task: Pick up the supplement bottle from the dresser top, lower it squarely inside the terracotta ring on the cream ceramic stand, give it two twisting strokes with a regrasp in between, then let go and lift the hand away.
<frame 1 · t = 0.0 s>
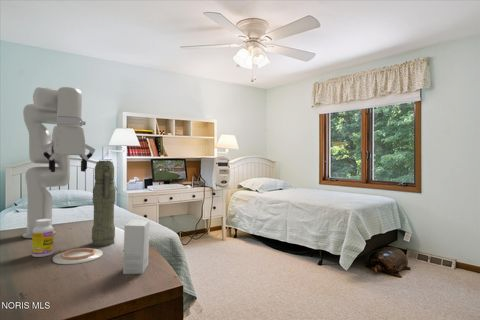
hand: (68, 171, 105), 31 cm above the dresser, tool pointing down, fingers open, 9 cm apart
thermos: (103, 243, 126), on the dresser
skincare box: (136, 270, 97), on the dresser
ring stand: (78, 256, 109), on the dresser
supplement bottle: (42, 255, 110), on the dresser
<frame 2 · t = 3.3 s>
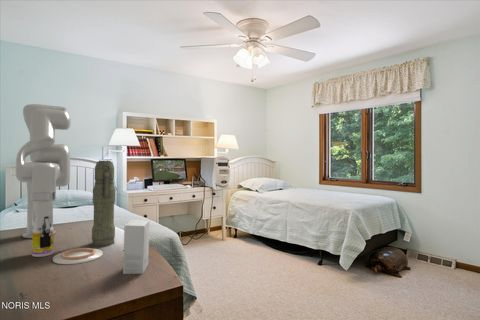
hand: (42, 244, 110), 4 cm above the dresser, tool pointing down, fingers closed on supplement bottle, 6 cm apart
supplement bottle: (42, 255, 110), on the dresser, touching gripper
everything else where it was.
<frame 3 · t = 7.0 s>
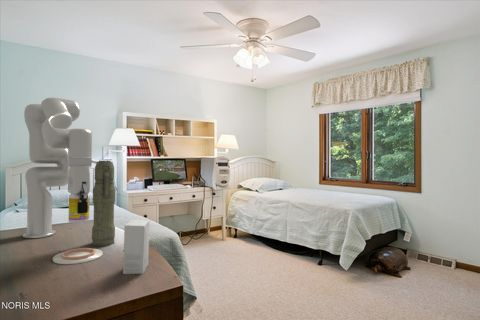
hand: (79, 211, 109), 17 cm above the dresser, tool pointing down, fingers closed on supplement bottle, 6 cm apart
supplement bottle: (78, 221, 109), point 13 cm above the dresser, touching gripper
everything else where it was.
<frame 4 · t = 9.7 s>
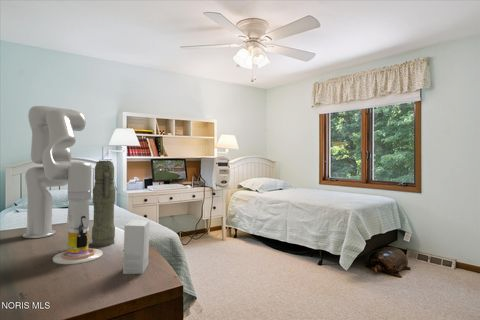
hand: (78, 244, 109), 4 cm above the dresser, tool pointing down, fingers closed on supplement bottle, 6 cm apart
supplement bottle: (78, 255, 109), resting on ring stand, touching gripper
everything else where it was.
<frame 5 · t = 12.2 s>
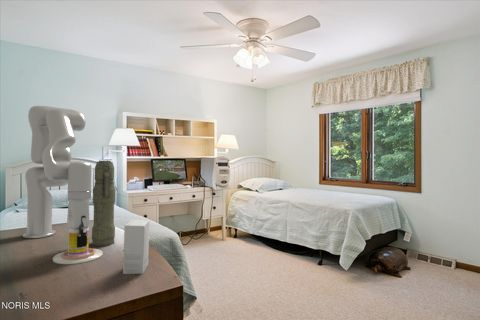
hand: (78, 244, 109), 5 cm above the dresser, tool pointing down, fingers closed on supplement bottle, 6 cm apart
supplement bottle: (78, 255, 109), resting on ring stand, touching gripper
everything else where it was.
when the fingers open (5 cm above the dresser, at t = 13.5 s): supplement bottle stays where it is, resting on ring stand.
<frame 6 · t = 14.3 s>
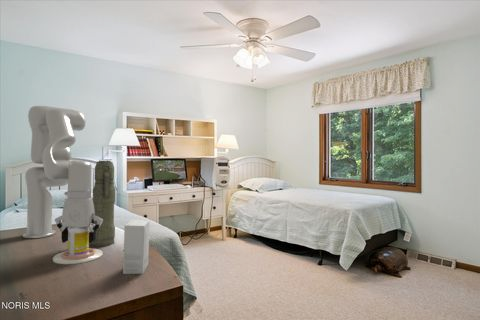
hand: (78, 241, 109), 5 cm above the dresser, tool pointing down, fingers open, 9 cm apart
supplement bottle: (78, 255, 109), resting on ring stand
everything else where it was.
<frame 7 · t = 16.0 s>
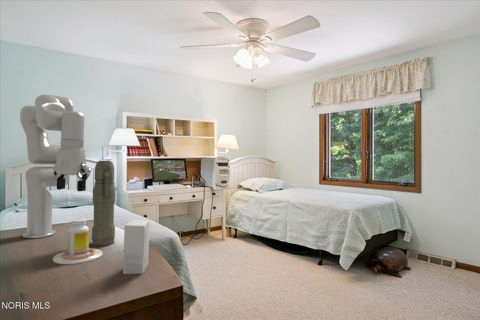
hand: (70, 190, 112), 24 cm above the dresser, tool pointing down, fingers open, 9 cm apart
nothing on the dresser moved.
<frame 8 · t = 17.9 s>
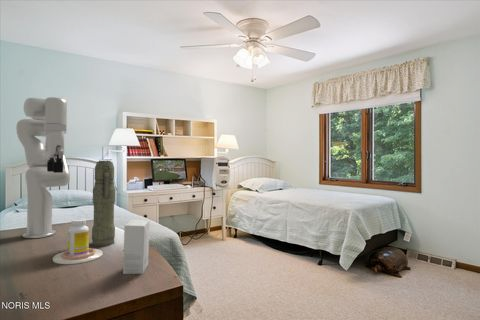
hand: (54, 172, 119), 30 cm above the dresser, tool pointing down, fingers open, 9 cm apart
nothing on the dresser moved.
at the end: supplement bottle 0.1 cm off-centre on the ring stand, point 0.4 cm above the ring stand's base; supplement bottle tilted 0°; the gripper is holding nothing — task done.
